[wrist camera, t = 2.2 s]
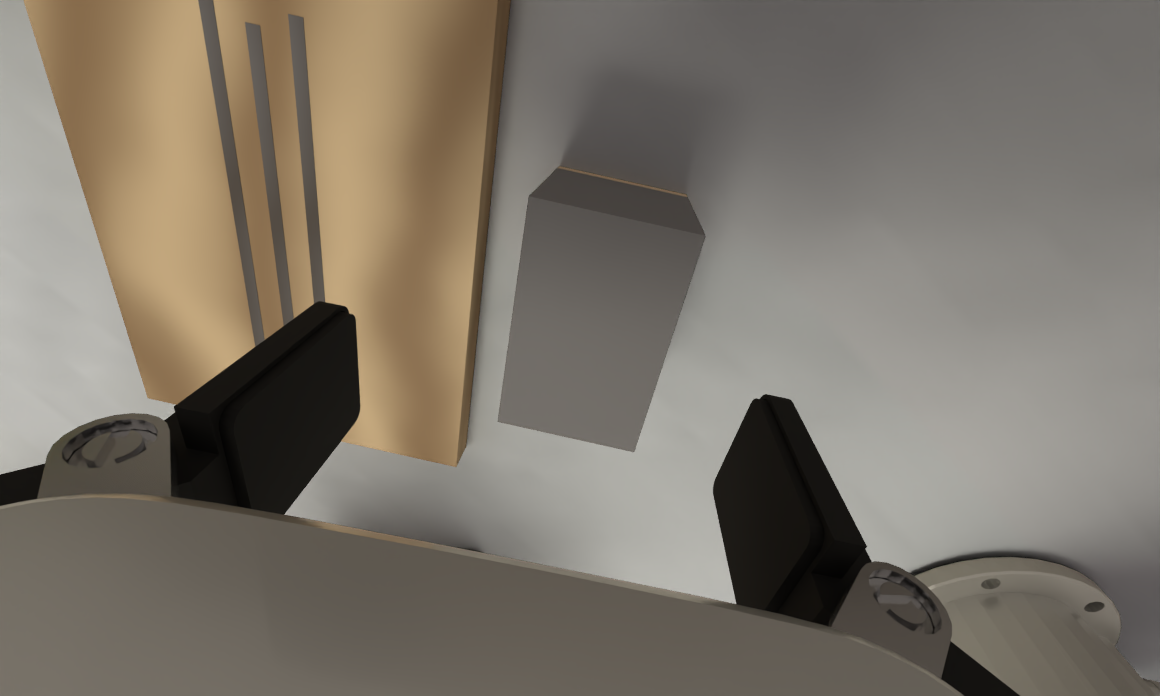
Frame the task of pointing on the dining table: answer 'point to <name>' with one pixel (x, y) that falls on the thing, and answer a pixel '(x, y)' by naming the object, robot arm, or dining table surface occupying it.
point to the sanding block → (596, 305)
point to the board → (291, 184)
